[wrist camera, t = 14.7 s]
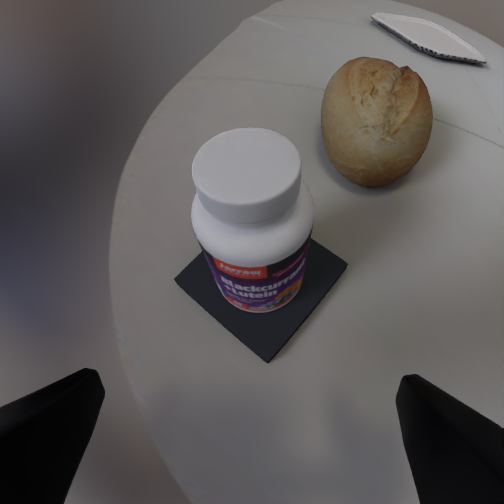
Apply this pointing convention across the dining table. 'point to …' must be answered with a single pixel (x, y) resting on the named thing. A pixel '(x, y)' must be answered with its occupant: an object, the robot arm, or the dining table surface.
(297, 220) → the pill bottle
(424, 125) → the bread roll
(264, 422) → the dining table surface
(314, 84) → the dining table surface
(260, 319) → the mat
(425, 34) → the plate
